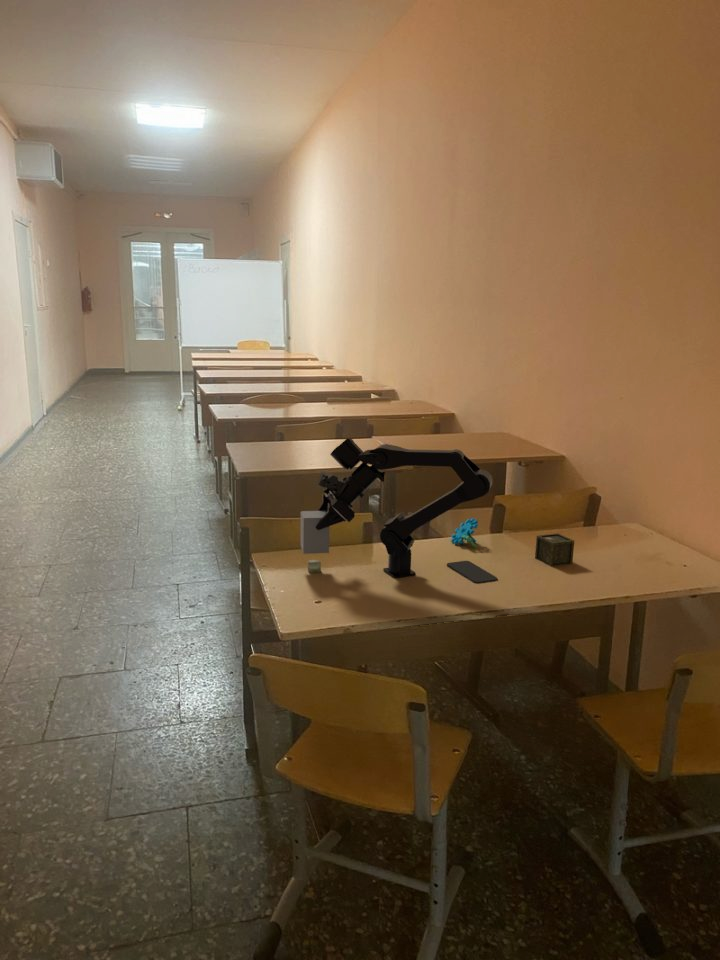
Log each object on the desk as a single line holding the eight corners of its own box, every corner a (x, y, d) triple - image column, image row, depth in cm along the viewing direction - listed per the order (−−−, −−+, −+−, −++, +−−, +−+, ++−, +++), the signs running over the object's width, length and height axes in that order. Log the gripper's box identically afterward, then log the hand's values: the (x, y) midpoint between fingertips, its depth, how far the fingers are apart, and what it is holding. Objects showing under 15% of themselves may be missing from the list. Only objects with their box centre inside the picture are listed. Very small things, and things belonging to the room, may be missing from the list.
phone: (475, 582, 179) (445, 563, 193) (475, 585, 180) (444, 566, 193) (499, 578, 182) (468, 560, 196) (499, 581, 183) (468, 563, 196)
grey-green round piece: (322, 572, 185) (322, 563, 185) (310, 574, 184) (310, 564, 183) (317, 568, 188) (317, 559, 188) (305, 569, 187) (305, 560, 186)
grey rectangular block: (325, 544, 188) (325, 510, 186) (328, 552, 182) (329, 517, 180) (300, 545, 187) (300, 511, 185) (303, 553, 181) (303, 518, 179)
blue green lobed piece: (447, 532, 217) (472, 511, 215) (460, 544, 219) (485, 524, 216) (451, 548, 207) (477, 526, 205) (465, 561, 208) (491, 540, 206)
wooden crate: (534, 560, 200) (536, 535, 199) (555, 557, 203) (558, 533, 201) (550, 568, 194) (552, 543, 192) (572, 565, 197) (574, 540, 195)
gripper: (330, 454, 190) (289, 495, 190) (342, 468, 172) (296, 514, 172) (358, 482, 193) (318, 522, 193) (373, 499, 175) (328, 543, 175)
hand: (314, 525), depth 183 cm, fingers closed on grey rectangular block, 7 cm apart
